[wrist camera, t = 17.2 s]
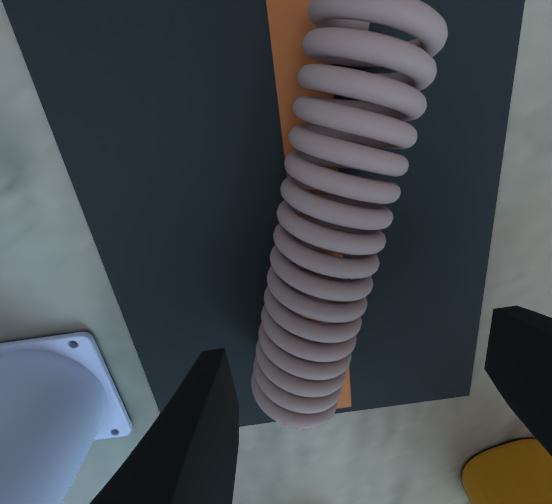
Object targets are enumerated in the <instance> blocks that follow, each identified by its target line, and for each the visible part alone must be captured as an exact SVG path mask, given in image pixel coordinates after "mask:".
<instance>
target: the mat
mask: <svg viewBox="0 0 552 504" xmlns="http://www.w3.org/2000/svg"><path fill="white" fill-rule="evenodd" d="M420 1H422V2H424V3H426V4H427V5H429V6H430V7H432V8H433V9H434V10H436V11H437V12H438V13H439V14H440V15H441V16H442V17H443V19H444V20H445V21H446V25H447V30H448V36H447V40H446V42H445V45H444V46H443V48H442V49H441V50H440V51H439V52H438V53H437V54H436V55H435V56H433V57H432V58H433V59H434V60H435V62H436V67H437V74H436V76H435V79H434V81H433V82H432V83H431V84H430V85H429V86H428V87H426V88H425V89H423V90H420V92H421V93H422V94H423V95H424V96H425V98H426V102H427V107H426V110H425V112H424V113H423V114H422V115H421V116H420V117H419V118H418V119H415V120H411V121H406V122H407V123H409V124H411V125H412V126H413V127H414V128H415V129H416V131H417V140H416V142H415V144H414V145H412V146H411V147H410V148H406V149H389V148H377V147H372V148H376V149H380V150H384V151H388V152H392V153H396V154H400V155H403V156H404V157H405V158H406V159H407V160H408V163H409V167H408V170H407V172H405V173H404V174H403V175H401V176H397V177H394V176H388V175H383V174H378V173H373V172H369V171H364V170H356V169H346V168H334V167H325V168H328V169H331V170H335V171H338V172H342V173H346V174H352V175H360V176H366V177H372V178H378V179H382V180H386V181H390V182H394V183H396V184H397V185H398V186H399V187H400V191H401V194H400V196H399V198H398V199H397V200H396V201H395V202H393V203H388V204H381V205H384V206H386V207H387V208H389V209H390V211H391V212H392V214H393V220H392V223H391V224H390V225H389V226H388V227H387V228H384V229H379V230H380V231H381V232H382V233H383V234H384V235H385V238H386V244H385V246H384V248H383V249H382V250H381V251H379V252H378V253H375V254H376V255H377V256H378V259H379V263H380V264H379V267H378V270H377V271H376V272H375V273H374V274H372V275H371V277H372V280H373V287H372V290H371V292H370V293H369V294H368V295H367V296H366V299H367V307H366V310H365V312H364V314H363V315H362V316H361V320H362V324H361V328H360V330H359V332H358V333H357V334H356V344H355V347H354V350H353V351H352V352H351V361H350V364H349V367H348V368H347V374H346V378H345V381H344V383H343V385H342V391H341V395H340V398H339V399H338V404H337V408H336V411H335V413H334V414H336V413H343V412H350V411H358V410H365V409H372V408H380V407H387V406H395V405H402V404H409V403H417V402H424V401H431V400H439V399H446V398H454V397H461V396H468V395H469V393H470V386H471V379H472V371H473V364H474V357H475V350H476V343H477V336H478V329H479V322H480V315H481V307H482V300H483V293H484V286H485V279H486V272H487V265H488V258H489V251H490V244H491V236H492V229H493V222H494V215H495V208H496V201H497V194H498V187H499V180H500V173H501V165H502V158H503V151H504V144H505V137H506V130H507V123H508V116H509V109H510V101H511V94H512V87H513V80H514V73H515V66H516V59H517V52H518V45H519V38H520V30H521V23H522V16H523V9H524V2H525V0H420ZM2 2H3V5H4V7H5V10H6V12H7V15H8V18H9V20H10V23H11V25H12V28H13V31H14V33H15V36H16V38H17V41H18V44H19V46H20V49H21V51H22V54H23V57H24V59H25V62H26V64H27V67H28V70H29V72H30V75H31V77H32V80H33V83H34V85H35V88H36V90H37V93H38V96H39V98H40V101H41V103H42V106H43V109H44V111H45V114H46V116H47V119H48V122H49V124H50V127H51V129H52V132H53V135H54V137H55V140H56V142H57V145H58V148H59V150H60V153H61V155H62V158H63V161H64V163H65V166H66V168H67V171H68V174H69V176H70V179H71V181H72V184H73V187H74V189H75V192H76V194H77V197H78V200H79V202H80V205H81V207H82V210H83V213H84V215H85V218H86V220H87V223H88V226H89V228H90V231H91V233H92V236H93V239H94V241H95V244H96V246H97V249H98V252H99V254H100V257H101V259H102V262H103V265H104V267H105V270H106V272H107V275H108V278H109V280H110V283H111V286H112V288H113V291H114V293H115V296H116V299H117V301H118V304H119V306H120V309H121V312H122V314H123V317H124V319H125V322H126V325H127V327H128V330H129V332H130V335H131V338H132V340H133V343H134V345H135V348H136V351H137V353H138V356H139V358H140V361H141V364H142V366H143V369H144V371H145V374H146V377H147V379H148V382H149V384H150V387H151V390H152V392H153V395H154V397H155V400H156V403H157V405H158V408H159V410H160V413H161V412H162V410H163V409H164V408H165V406H166V405H167V403H168V402H169V400H170V399H171V397H172V396H173V395H174V393H175V392H176V390H177V389H178V387H179V385H180V384H181V382H182V381H183V379H184V378H185V376H186V375H187V373H188V372H189V370H190V369H191V367H192V365H193V364H194V362H195V361H196V359H197V358H198V356H199V355H200V353H201V352H202V351H206V350H213V349H220V348H225V350H226V354H227V358H228V362H229V366H230V370H231V374H232V378H233V382H234V386H235V390H236V394H237V398H238V402H239V427H240V426H247V425H255V424H262V423H269V422H276V421H275V420H273V419H272V418H270V417H269V416H268V415H267V414H266V413H265V412H264V411H263V410H262V409H261V408H260V406H259V405H258V403H257V402H256V400H255V397H254V395H253V392H252V387H251V378H252V373H253V371H254V367H253V364H254V359H255V357H256V345H257V342H258V340H259V335H258V331H259V327H260V324H261V322H262V320H261V312H262V309H263V306H264V304H265V302H264V293H265V290H266V288H267V286H268V283H267V274H268V271H269V268H270V267H271V262H270V254H271V251H272V248H273V247H274V245H275V243H274V239H273V234H274V230H275V228H276V226H277V225H278V224H279V221H278V218H277V209H278V207H279V204H280V203H281V202H283V201H284V200H285V199H284V198H283V197H282V194H281V190H280V187H281V184H282V182H283V181H284V180H285V179H286V178H287V177H288V176H290V174H289V173H288V172H287V171H286V169H285V165H284V162H285V158H286V156H287V155H288V154H289V153H291V152H292V151H296V150H297V149H295V148H294V147H293V146H292V145H291V143H290V142H289V137H288V135H289V132H290V130H291V129H292V128H293V127H294V126H296V125H300V124H313V123H310V122H307V121H304V120H301V119H299V118H298V117H297V116H296V115H295V114H294V112H293V104H294V101H295V100H296V99H297V98H298V97H302V96H312V97H321V98H332V99H344V100H358V99H353V98H349V97H345V96H340V95H335V94H331V93H326V92H320V91H315V90H309V89H305V88H302V87H301V86H300V84H299V83H298V78H297V76H298V72H299V70H300V69H301V68H302V67H303V66H304V65H308V64H325V65H333V66H340V67H346V68H351V69H356V70H361V71H365V72H370V73H396V71H393V70H390V69H387V68H384V67H357V66H345V65H337V64H331V63H326V62H321V61H318V60H315V59H312V58H309V57H308V56H307V55H306V54H305V53H304V51H303V46H302V43H303V39H304V37H305V36H306V35H307V33H308V32H309V31H311V30H314V29H318V27H316V26H315V25H314V24H313V23H312V22H311V20H310V19H309V16H308V10H307V9H308V6H309V2H310V0H2ZM368 31H372V32H377V33H381V34H385V35H389V36H392V37H396V38H399V39H401V40H404V41H407V42H408V41H411V40H414V39H417V38H415V37H413V36H411V35H409V34H407V33H405V32H403V31H400V30H397V29H394V28H391V27H388V26H384V25H380V24H376V23H370V24H369V29H368ZM360 101H362V100H360ZM307 191H309V192H311V193H313V194H330V195H334V194H331V193H327V192H324V191H321V190H318V189H310V190H307ZM297 214H299V215H307V214H305V213H302V212H299V213H297ZM292 236H294V235H292ZM316 251H318V252H321V253H324V254H329V255H333V256H337V257H341V258H348V259H353V258H351V257H348V256H346V255H343V254H339V253H336V252H331V251H324V250H316ZM301 270H308V269H306V268H301ZM344 279H345V278H344ZM347 280H349V281H350V282H351V281H353V280H351V279H347ZM291 288H294V287H291ZM305 319H307V320H312V321H316V322H319V323H323V322H320V321H317V320H314V319H308V318H305ZM323 324H325V323H323ZM292 334H293V333H292Z"/></svg>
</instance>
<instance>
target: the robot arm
mask: <svg viewBox="0 0 552 504" xmlns="http://www.w3.org/2000/svg"><path fill="white" fill-rule="evenodd" d="M73 341H75V342H77V343H74V342H73ZM484 369H485V370H486V372H487V374H488V375H489V377H490V378H491V380H492V381H493V383H494V385H495V386H496V388H497V389H498V391H499V392H500V394H501V395H502V396H503V398H504V399H505V401H506V402H507V404H508V405H509V406H510V408H511V409H512V410H513V411H514V413H515V414H516V415H517V416H518V417H519V419H520V420H521V421H522V422H523V423H524V425H525V426H526V427H527V428H528V429H529V431H530V432H531V433H532V434H533V435H534V436H535V438H536V439H537V440H538V441H539V442H540V444H541V445H542V446H543V447H544V448H545V449H546V451H547V452H548V453H549V454H550V455H551V456H552V318H550V317H547V316H545V315H542V314H540V313H537V312H534V311H531V310H528V309H525V308H522V307H519V306H511V307H504V308H497V309H493V315H492V322H491V328H490V335H489V341H488V348H487V354H486V361H485V368H484ZM132 428H133V426H132V423H131V421H130V419H129V416H128V414H127V412H126V410H125V407H124V405H123V403H122V401H121V398H120V396H119V394H118V392H117V389H116V387H115V385H114V383H113V380H112V378H111V376H110V373H109V371H108V369H107V367H106V364H105V362H104V360H103V358H102V355H101V353H100V351H99V349H98V346H97V344H96V342H95V340H94V338H93V336H92V335H91V334H89V333H87V332H77V333H70V334H63V335H56V336H48V337H41V338H34V339H27V340H20V341H13V342H5V343H0V504H62V502H63V500H64V498H65V496H66V494H67V492H68V490H69V488H70V486H71V484H72V482H73V480H74V478H75V476H76V475H77V473H78V471H79V469H80V467H81V465H82V463H83V461H84V459H85V457H86V455H87V453H88V451H89V449H90V447H91V445H92V443H93V441H94V440H99V439H106V438H114V437H121V436H126V435H129V434H130V433H131V430H132ZM238 444H239V402H238V398H237V394H236V390H235V386H234V382H233V378H232V374H231V370H230V366H229V362H228V358H227V354H226V350H225V348H220V349H213V350H206V351H202V352H201V353H200V355H199V356H198V358H197V359H196V361H195V362H194V364H193V365H192V367H191V369H190V370H189V372H188V373H187V375H186V376H185V378H184V379H183V381H182V382H181V384H180V385H179V387H178V389H177V390H176V392H175V393H174V395H173V396H172V397H171V399H170V400H169V402H168V403H167V405H166V406H165V408H164V409H163V410H162V412H161V413H160V415H159V416H158V418H157V419H156V421H155V422H154V423H153V425H152V426H151V427H150V429H149V430H148V431H147V433H146V434H145V435H144V437H143V438H142V439H141V441H140V442H139V443H138V445H137V446H136V447H135V449H134V450H133V451H132V453H131V454H130V455H129V457H128V458H127V459H126V460H125V462H124V463H123V464H122V466H121V467H120V468H119V469H118V470H117V472H116V473H115V474H114V475H113V477H112V478H111V479H110V480H109V482H108V483H107V484H106V485H105V486H104V488H103V489H102V490H101V491H100V492H99V493H98V495H97V496H96V497H95V498H94V499H93V500H92V502H91V503H90V504H232V499H233V490H234V482H235V473H236V463H237V454H238Z"/></svg>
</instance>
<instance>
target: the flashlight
mask: <svg viewBox="0 0 552 504" xmlns="http://www.w3.org/2000/svg"><path fill="white" fill-rule="evenodd" d="M462 481H463V486H464V489H465V492H466V494H467V496H468V498H469V500H470V502H471V504H552V456H551V455H550V454H549V453H548V452H547V451H546V449H545V448H544V447H543V446H542V445H541V444H540V442H539V441H538V440H537V439H523V440H518V441H513V442H510V443H506V444H503V445H500V446H497V447H494V448H492V449H489V450H487V451H485V452H482V453H480V454H479V455H477V456H475V457H474V458H472V459H471V460H470V461H469V462H468V463H467V464H466V466H465V467H464V469H463V472H462Z"/></svg>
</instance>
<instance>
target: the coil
mask: <svg viewBox="0 0 552 504" xmlns="http://www.w3.org/2000/svg"><path fill="white" fill-rule="evenodd" d="M307 10H308V16H309V19H310V20H311V22H312V23H313V24H314V25H315V26H316V27H318V29H314V30H311V31H309V32H308V33H307V35H306V36H305V37H304V39H303V43H302V46H303V51H304V53H305V54H306V55H307V56H308V57H309V58H312V59H315V60H318V61H321V62H326V63H331V64H337V65H345V66H357V67H384V68H387V69H390V70H393V71H396V73H370V72H365V71H361V70H356V69H351V68H346V67H340V66H333V65H325V64H308V65H304V66H303V67H302V68H301V69H300V70H299V72H298V76H297V78H298V83H299V84H300V86H301V87H302V88H305V89H309V90H315V91H320V92H326V93H331V94H335V95H340V96H345V97H349V98H353V99H358V100H344V99H332V98H321V97H312V96H302V97H298V98H297V99H296V100H295V101H294V104H293V112H294V114H295V115H296V116H297V117H298V118H299V119H301V120H304V121H307V122H310V123H313V124H300V125H296V126H294V127H293V128H292V129H291V130H290V132H289V135H288V137H289V142H290V143H291V145H292V146H293V147H294V148H295V149H297V150H296V151H292V152H291V153H289V154H288V155H287V156H286V158H285V162H284V165H285V169H286V171H287V172H288V173H289V174H290V176H288V177H287V178H286V179H285V180H284V181H283V182H282V184H281V187H280V190H281V194H282V197H283V198H284V199H285V200H284V201H283V202H281V203H280V204H279V207H278V209H277V218H278V221H279V224H278V225H277V226H276V228H275V230H274V234H273V239H274V243H275V245H274V247H273V248H272V251H271V254H270V262H271V267H270V268H269V271H268V274H267V283H268V286H267V288H266V290H265V293H264V302H265V304H264V306H263V309H262V312H261V320H262V322H261V324H260V327H259V331H258V335H259V340H258V342H257V345H256V357H255V359H254V364H253V367H254V371H253V373H252V378H251V387H252V392H253V395H254V397H255V400H256V402H257V403H258V405H259V406H260V408H261V409H262V410H263V411H264V412H265V413H266V414H267V415H268V416H269V417H270V418H272V419H273V420H275V421H276V422H278V423H280V424H282V425H285V426H288V427H291V428H296V429H312V428H316V427H319V426H321V425H323V424H325V423H326V422H328V421H329V420H330V419H331V418H332V417H333V415H334V413H335V411H336V408H337V404H338V399H339V398H340V395H341V391H342V385H343V383H344V381H345V378H346V374H347V368H348V367H349V364H350V361H351V352H352V351H353V350H354V347H355V344H356V334H357V333H358V332H359V330H360V328H361V324H362V320H361V316H362V315H363V314H364V312H365V310H366V307H367V299H366V296H367V295H368V294H369V293H370V292H371V290H372V287H373V280H372V277H371V275H372V274H374V273H375V272H376V271H377V270H378V267H379V264H380V263H379V259H378V256H377V255H376V254H375V253H378V252H379V251H381V250H382V249H383V248H384V246H385V244H386V238H385V235H384V234H383V233H382V232H381V231H380V230H379V229H384V228H387V227H388V226H389V225H390V224H391V223H392V220H393V214H392V212H391V211H390V209H389V208H387V207H386V206H384V205H381V204H388V203H393V202H395V201H396V200H397V199H398V198H399V196H400V194H401V191H400V187H399V186H398V185H397V184H396V183H394V182H390V181H386V180H382V179H378V178H372V177H366V176H360V175H352V174H346V173H342V172H338V171H335V170H331V169H328V168H325V167H334V168H346V169H356V170H364V171H369V172H373V173H378V174H383V175H388V176H394V177H397V176H401V175H403V174H404V173H405V172H407V170H408V167H409V163H408V160H407V159H406V158H405V157H404V156H403V155H400V154H396V153H392V152H388V151H384V150H380V149H376V148H372V147H377V148H389V149H406V148H410V147H411V146H412V145H414V144H415V142H416V140H417V131H416V129H415V128H414V127H413V126H412V125H411V124H409V123H407V122H406V121H411V120H415V119H418V118H419V117H420V116H421V115H422V114H423V113H424V112H425V110H426V107H427V102H426V98H425V96H424V95H423V94H422V93H421V92H420V90H423V89H425V88H426V87H428V86H429V85H430V84H431V83H432V82H433V81H434V79H435V76H436V74H437V67H436V62H435V60H434V59H433V58H432V57H433V56H435V55H436V54H437V53H438V52H439V51H440V50H441V49H442V48H443V46H444V45H445V42H446V40H447V36H448V30H447V25H446V21H445V20H444V19H443V17H442V16H441V15H440V14H439V13H438V12H437V11H436V10H434V9H433V8H432V7H430V6H429V5H427V4H426V3H424V2H422V1H420V0H310V2H309V6H308V9H307ZM370 23H376V24H380V25H384V26H388V27H391V28H394V29H397V30H400V31H403V32H405V33H407V34H409V35H411V36H413V37H415V38H417V39H414V40H411V41H408V42H407V41H404V40H401V39H399V38H396V37H392V36H389V35H385V34H381V33H377V32H372V31H368V29H369V24H370ZM360 100H362V101H360ZM310 189H318V190H321V191H324V192H327V193H331V194H334V195H330V194H313V193H311V192H309V191H307V190H310ZM299 212H302V213H305V214H307V215H299V214H297V213H299ZM292 235H294V236H292ZM316 250H324V251H331V252H336V253H339V254H343V255H346V256H348V257H351V258H353V259H348V258H341V257H337V256H333V255H329V254H324V253H321V252H318V251H316ZM301 268H306V269H308V270H301ZM344 278H345V279H344ZM347 279H351V280H353V281H351V282H350V281H349V280H347ZM291 287H294V288H291ZM305 318H308V319H314V320H317V321H320V322H323V323H325V324H323V323H319V322H316V321H312V320H307V319H305ZM292 333H293V334H292Z"/></svg>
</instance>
